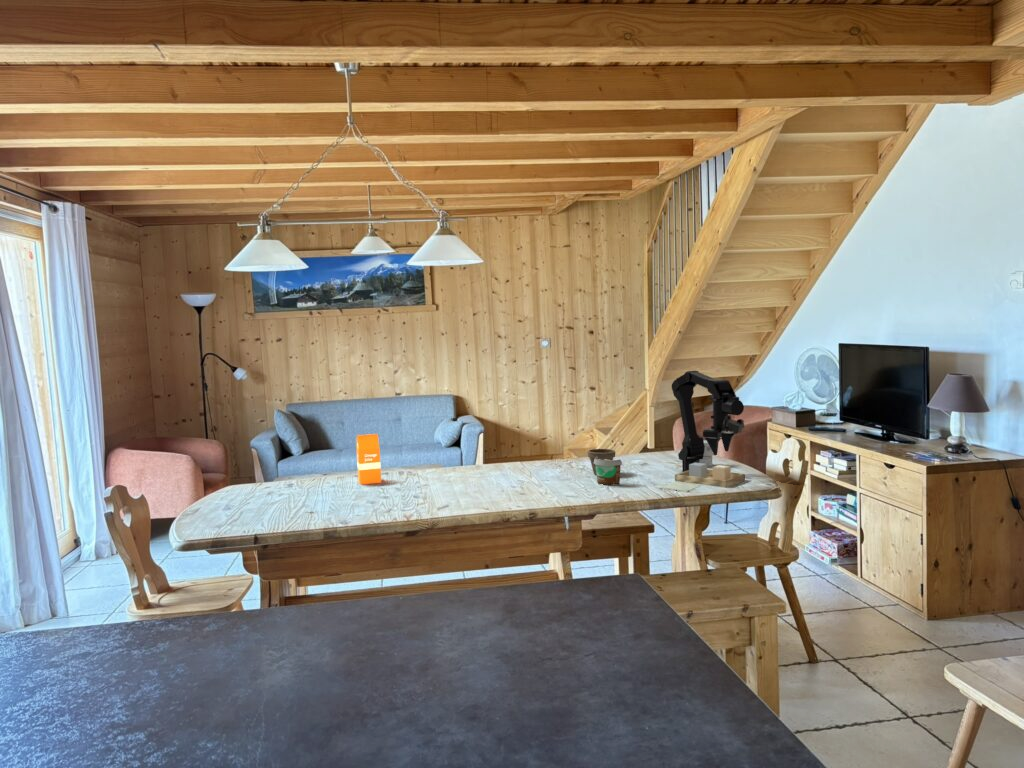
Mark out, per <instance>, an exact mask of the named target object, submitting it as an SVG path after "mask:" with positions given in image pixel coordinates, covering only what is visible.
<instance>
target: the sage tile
mask: <svg viewBox="0 0 1024 768" xmlns="http://www.w3.org/2000/svg"><path fill="white" fill-rule="evenodd" d="M701 486H702V485H701V484H693V483H686V482H678V481H674V482H671V483H669V484H666V485H664V486H661V487H660V489H661V488H664V489H663V490H667V489H670V490H669V491H674V490H677V492H681V491H684V492H683V493H689V492H690V491H691V490H694V489H696V488H700V487H701Z"/></svg>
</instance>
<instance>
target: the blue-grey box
mask: <svg viewBox="0 0 1024 768" xmlns="http://www.w3.org/2000/svg"><path fill="white" fill-rule="evenodd" d="M707 470H708V467H707V464H704V463H692V464H689V476H693V477H702V478H707Z"/></svg>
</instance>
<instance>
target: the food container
mask: <svg viewBox="0 0 1024 768" xmlns="http://www.w3.org/2000/svg"><path fill="white" fill-rule="evenodd" d="M594 464H595V465H596V474H597V475H596V482H597V485H600V484H603V485H602V486H614V485H613V484H618V485H620V484H621V483H620V480H621V466H622V465H623V463H622V459H620V458H619V459H613V460H610V459H598V457H595V459H594Z"/></svg>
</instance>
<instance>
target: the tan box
mask: <svg viewBox="0 0 1024 768" xmlns="http://www.w3.org/2000/svg"><path fill="white" fill-rule="evenodd" d="M731 467H732V466H731V465H724V464H723V465H721V464H716V465H714V466H712V467H711V470H712V471H713V479H718V480H728V479H730V478H731V472H732V471H731Z"/></svg>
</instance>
